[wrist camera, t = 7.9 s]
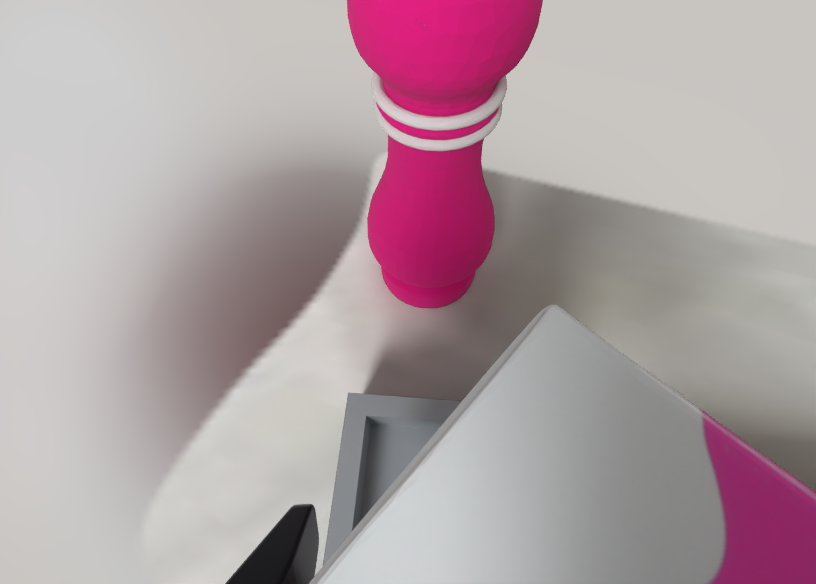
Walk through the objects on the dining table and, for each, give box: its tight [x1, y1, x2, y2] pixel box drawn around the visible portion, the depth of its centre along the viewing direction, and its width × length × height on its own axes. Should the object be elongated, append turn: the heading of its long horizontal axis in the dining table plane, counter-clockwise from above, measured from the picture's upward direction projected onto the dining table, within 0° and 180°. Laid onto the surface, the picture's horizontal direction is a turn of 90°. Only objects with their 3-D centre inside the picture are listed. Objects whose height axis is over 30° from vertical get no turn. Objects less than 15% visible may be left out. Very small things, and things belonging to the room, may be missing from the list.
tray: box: [323, 393, 462, 566], centre depth 18 cm, size 11×11×4 cm
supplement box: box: [309, 304, 816, 584], centre depth 8 cm, size 6×6×12 cm
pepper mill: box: [347, 0, 543, 308], centre depth 17 cm, size 7×7×20 cm
